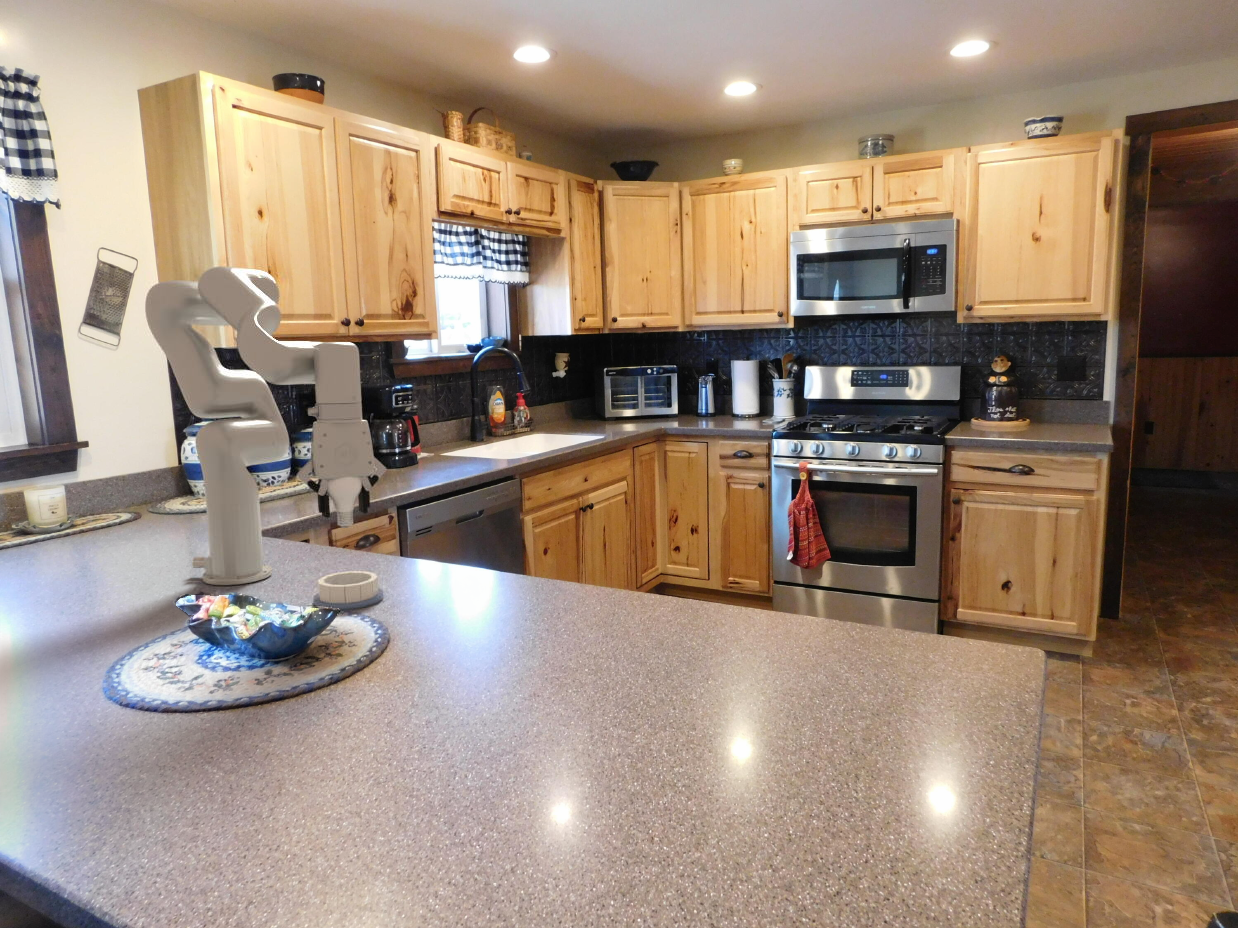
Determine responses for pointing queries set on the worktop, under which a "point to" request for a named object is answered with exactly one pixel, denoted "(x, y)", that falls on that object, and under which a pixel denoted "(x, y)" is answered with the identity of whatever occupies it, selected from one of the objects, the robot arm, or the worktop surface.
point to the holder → (348, 590)
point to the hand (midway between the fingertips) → (344, 513)
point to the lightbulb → (344, 497)
